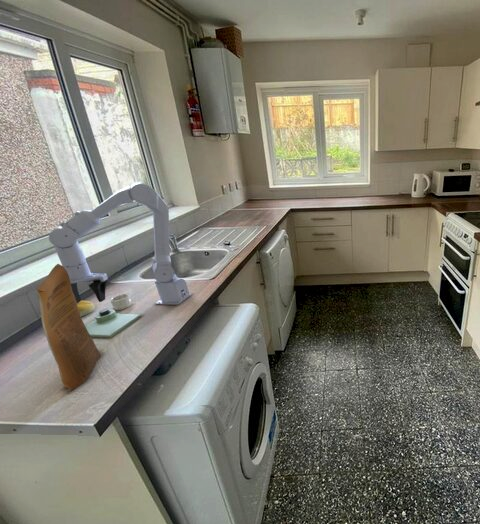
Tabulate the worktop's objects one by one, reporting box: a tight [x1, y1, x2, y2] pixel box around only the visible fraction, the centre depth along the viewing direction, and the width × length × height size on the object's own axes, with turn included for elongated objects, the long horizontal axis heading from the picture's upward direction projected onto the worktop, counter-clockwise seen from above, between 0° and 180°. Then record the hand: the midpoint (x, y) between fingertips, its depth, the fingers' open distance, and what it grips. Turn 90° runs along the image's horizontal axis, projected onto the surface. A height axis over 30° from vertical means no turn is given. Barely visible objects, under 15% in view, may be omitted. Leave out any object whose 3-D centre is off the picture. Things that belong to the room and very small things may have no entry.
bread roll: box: [77, 300, 95, 318], centre depth 105 cm, size 8×9×4 cm
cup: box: [109, 293, 133, 311], centre depth 108 cm, size 6×6×4 cm
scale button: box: [98, 308, 110, 316], centre depth 99 cm, size 3×3×2 cm
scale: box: [84, 308, 142, 338], centre depth 96 cm, size 14×12×2 cm
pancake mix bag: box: [35, 263, 102, 392], centre depth 72 cm, size 7×19×28 cm, turn 25°
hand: (90, 301), depth 96 cm, fingers open, 7 cm apart
